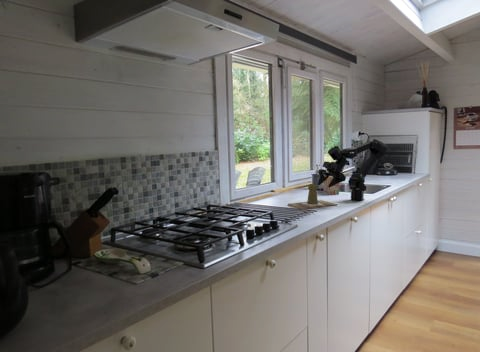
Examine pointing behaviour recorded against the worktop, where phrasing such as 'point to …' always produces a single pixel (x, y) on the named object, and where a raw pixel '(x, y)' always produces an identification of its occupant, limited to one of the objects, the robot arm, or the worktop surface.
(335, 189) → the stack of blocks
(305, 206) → the baseplate
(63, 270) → the worktop surface
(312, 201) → the pepper mill
